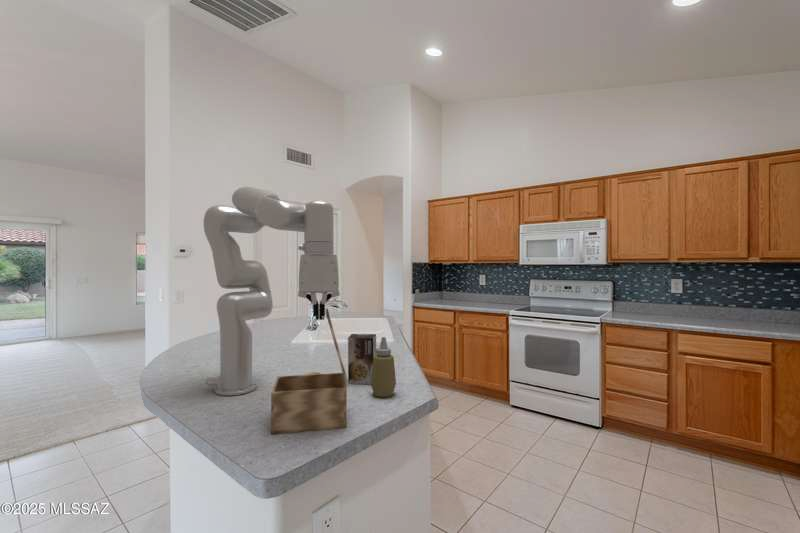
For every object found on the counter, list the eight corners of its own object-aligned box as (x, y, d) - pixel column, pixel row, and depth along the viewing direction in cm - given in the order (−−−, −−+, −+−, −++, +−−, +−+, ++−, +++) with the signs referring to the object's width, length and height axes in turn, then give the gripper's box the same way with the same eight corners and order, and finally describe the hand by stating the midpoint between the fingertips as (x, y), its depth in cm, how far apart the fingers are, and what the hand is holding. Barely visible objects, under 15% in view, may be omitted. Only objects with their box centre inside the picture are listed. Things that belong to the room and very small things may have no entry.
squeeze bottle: (386, 401, 110) (387, 341, 110) (365, 395, 114) (365, 338, 114) (401, 393, 117) (401, 336, 117) (380, 388, 121) (380, 333, 121)
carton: (271, 434, 88) (271, 392, 88) (277, 412, 101) (277, 376, 101) (346, 427, 92) (346, 387, 92) (343, 407, 105) (343, 372, 105)
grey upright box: (376, 379, 131) (377, 333, 131) (373, 385, 124) (373, 337, 124) (351, 378, 132) (351, 333, 132) (347, 383, 125) (347, 336, 125)
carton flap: (326, 315, 91) (328, 314, 91) (325, 309, 103) (327, 308, 103) (346, 387, 92) (349, 386, 92) (343, 372, 105) (345, 372, 105)
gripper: (288, 248, 91) (288, 322, 91) (348, 249, 94) (348, 320, 95) (290, 249, 99) (290, 317, 99) (346, 250, 102) (346, 316, 102)
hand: (319, 318), depth 97 cm, fingers closed
